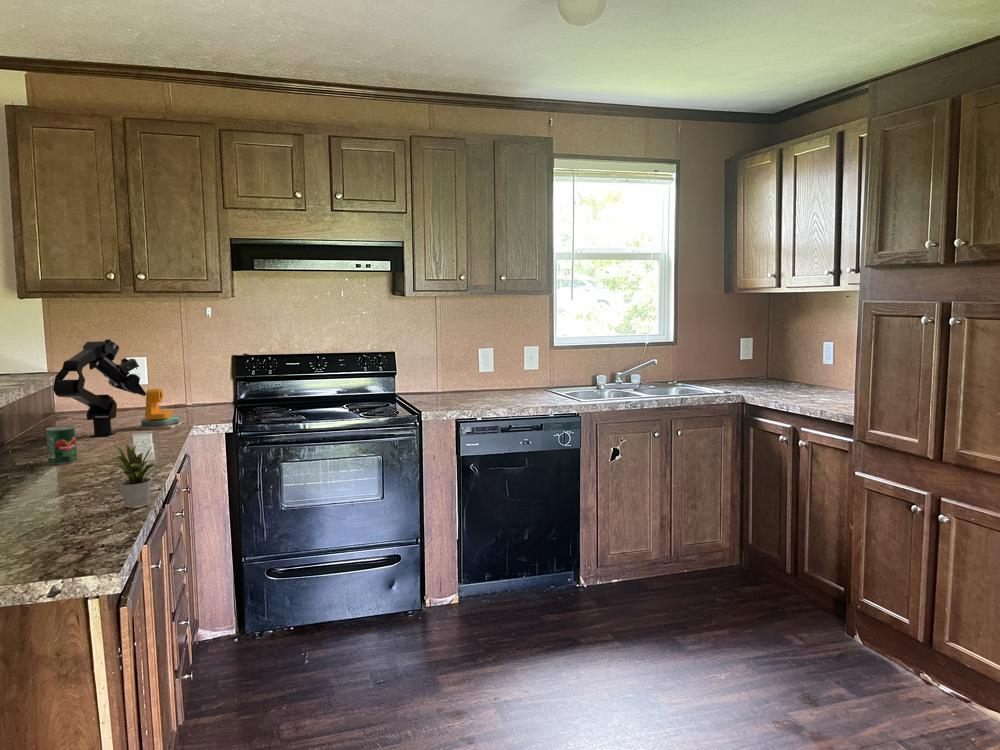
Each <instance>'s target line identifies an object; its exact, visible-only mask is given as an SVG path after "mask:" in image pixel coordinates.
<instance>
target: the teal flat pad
mask: <svg viewBox="0 0 1000 750" xmlns="http://www.w3.org/2000/svg"><path fill="white" fill-rule="evenodd" d="M184 422H186V423H187V421H186V420H180V417H179V416H178V415H177V416H176V415H171V418H169V419H168V420H148V419H145V418H143V419H141V420H140V425H137V426H134V430H135V429H158V430H172V429H171V428H173V427H175V426H177V427H179V426H178V425H180V424H182V423H184ZM184 424H185V423H184ZM182 425H183V424H182ZM180 426H181V425H180ZM175 428H176V427H175ZM173 429H174V428H173Z"/></svg>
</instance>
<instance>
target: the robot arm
mask: <svg viewBox="0 0 1000 750" xmlns="http://www.w3.org/2000/svg"><path fill="white" fill-rule="evenodd" d="M119 351H120V346H119V345H118V344H117V343H116V342H113V341H112V340H111V339H110V338H109V339H108V338H107V339H105V340H104V341H101V340H99V341H98V340H97V341H95V340H94V341H86V342H85V343H84V345H82V350H81V351H80V352H78V353H77V354H75V355H73V356H72V357H70V358H69V359H67V360H64V362H63V364H62V368H61V369H60V370H59V371H58V373H57V374H56V375H55V378H54V382H53V387H52V390H53V393H54V394H55V396H56V397H58V398H68V399H73V400H76V401H77V402H79V403H80V404H81V403H82V404H84V405H86V406H87V407H88V409H87V413H86V419H87V421H92V422H93V433H92V434H90V437H109V436H111V435H114V434H116V433H117V432H116V431H113V429H112V420H113V419H115V418H117V411H118V409H117V408H118V404H117V402H116V400H115V399H114V398H113V396H110V394H95V393H93V392H91V391H90V390H88V389H86V388H84V387H85V382H86V377H85V376H84V374H83V369H84V368H85V367H86V366H87V365H89V366H88V368H89V370H90V371H92V370H94V369H96V370H97V371H98V372H100V373H101V374H102V375H103V376H104V378H107V379H108V384H109V386H111V387H112V388H115V389H118V390H122V391H125V392H128V393H131V394H135V395H140V396H143V397H146V391H145V390H144V388H143V387H142V386H141V384H140V381H141V377H140V375H139V376H138V374H136V373H135V374H134V373H131V372H130V371H133V370H134V369H137V368H139V367H140V365H139V364H138V362H137V360H136V359H135V358H129V359H127V358H122V359H120V364H117V363H115V362H114V360H115V358H116V356H117V354H118V352H119ZM70 372H77V374H78V379H65V378H66V377H67V376H68V374H69V373H70Z"/></svg>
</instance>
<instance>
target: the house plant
mask: <svg viewBox="0 0 1000 750" xmlns="http://www.w3.org/2000/svg"><path fill="white" fill-rule="evenodd" d="M125 445H126V455H127V457H126V455H125V453H124V451H123V450H122V448H120V447H119V446H116V445H113V444H112V445H111V446H112V447H115V448H116V449H117V450H118V452H119V454H120V455H116V454H115V453H112V452H110V451H108V453H109V454H111V455H107V454H106V456H107V457H108V456H109V457H111V458H113V459H115V457H116V458H117V460H119V461H120V462H121V463H122V464H120V465H118V466H117V468H119V469H121V470H120V472H121V473H124V474H125V476H126V477H127V479H125V477H124V476H121V474H119V473H118V472H119V470H118V469H117V470H112V469H110V468H109V470H110V472H109V473H108V475H107V477H109V476H111V475H112V474H114V473H117V475H119V476H120V477H122V478H124V480H121V481H120V482H119V486H120V490H121V494H122V498H123V501H124V505H126V506H136V505H143V504H147V503H149V504H150V495H151V489H152V488H151V487H152V479H151V478H149V477H148V475H149V474H150V473H152V471H154V470H156V469H158V467H155V468H152V467H154V466H156V464H154V463H153V464H149V465H146V464H147V463H148V462H151V460H149V459H148V458H147V457H148V455H149V453H150V451H151V448H152V446H151V447H150V448H149V449H148V450H147V452H146V454H145V456H144V458H143V454H144V452H140V453H138V454H136V446H137V445H134V446H133V447H131V446H130V445H129V444H128V443H126V444H125ZM161 448H163V446H161V447H158V448H157V449H155V450H154V451H153V452H152V453H151V454H150V456H152V455H153V454H154V453H155V452H156V451H157V450H159V449H161ZM112 455H113V456H115V457H113V456H112ZM102 456H105V454H104V455H102ZM146 458H147V460H146ZM145 465H146V466H145ZM144 466H145V467H144ZM150 468H152V469H151V470H150ZM148 470H150V471H149V472H148V473H147V471H148ZM145 474H146V475H145ZM144 475H145V477H144ZM126 506H125V507H126Z"/></svg>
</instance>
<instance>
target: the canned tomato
mask: <svg viewBox="0 0 1000 750" xmlns="http://www.w3.org/2000/svg"><path fill="white" fill-rule="evenodd" d="M75 428H76V427H75V426H74V425H58V426H57V425H56V426H52V427H51V426H50V427H47V428H45V436H46V445H47V447H46V448H47V458H48V464H49V465H50V464H53V465H52V466H55V465H54V464H61V465H67V464H66V463H69V464H71V463H70V462H73V463H75V462H74V461H76V462H78V453H77V452H78V451H77V442H76V430H75Z"/></svg>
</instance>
